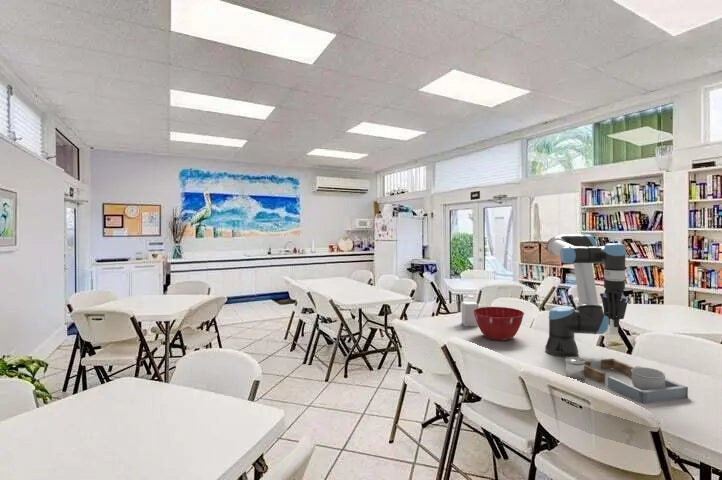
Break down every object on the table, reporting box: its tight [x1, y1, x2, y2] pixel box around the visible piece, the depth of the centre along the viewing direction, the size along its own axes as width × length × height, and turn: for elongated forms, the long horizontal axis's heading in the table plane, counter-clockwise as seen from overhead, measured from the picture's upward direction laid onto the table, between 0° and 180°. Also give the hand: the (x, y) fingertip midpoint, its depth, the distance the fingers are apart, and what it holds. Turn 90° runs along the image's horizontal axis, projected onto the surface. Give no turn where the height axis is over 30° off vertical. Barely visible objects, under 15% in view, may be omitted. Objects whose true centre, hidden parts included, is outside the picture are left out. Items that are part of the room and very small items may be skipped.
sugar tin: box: [564, 356, 586, 382], centre depth 165 cm, size 7×7×8 cm
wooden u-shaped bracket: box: [584, 358, 636, 384], centre depth 168 cm, size 14×19×4 cm
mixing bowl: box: [473, 306, 525, 341], centre depth 227 cm, size 28×28×15 cm
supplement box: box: [461, 301, 479, 327], centre depth 257 cm, size 9×9×15 cm
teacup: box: [631, 365, 666, 391], centre depth 151 cm, size 14×11×8 cm
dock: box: [607, 376, 689, 404], centre depth 150 cm, size 16×20×4 cm
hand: (613, 333), depth 165 cm, fingers closed
